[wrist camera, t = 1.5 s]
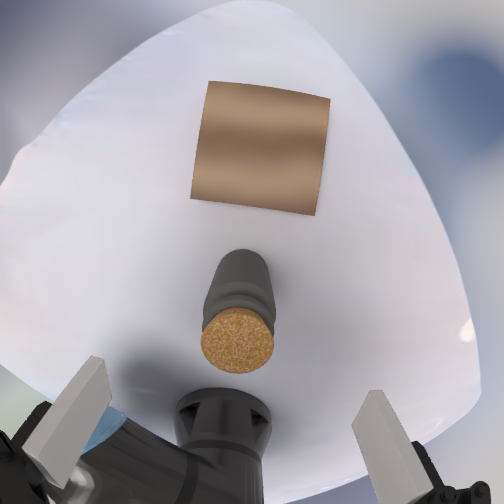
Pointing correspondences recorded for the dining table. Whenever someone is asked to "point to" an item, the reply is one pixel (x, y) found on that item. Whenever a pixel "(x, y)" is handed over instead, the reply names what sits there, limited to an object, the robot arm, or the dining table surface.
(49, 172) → the dining table surface
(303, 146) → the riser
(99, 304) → the dining table surface
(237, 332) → the bottle
